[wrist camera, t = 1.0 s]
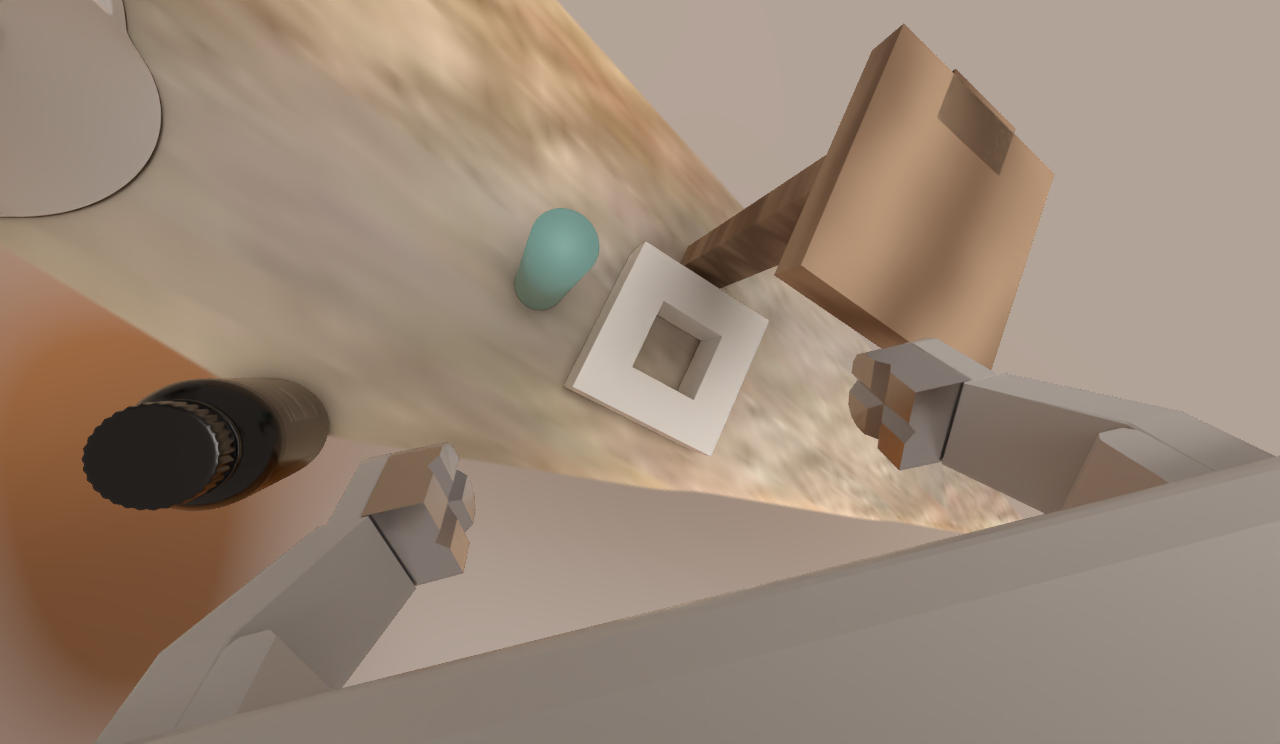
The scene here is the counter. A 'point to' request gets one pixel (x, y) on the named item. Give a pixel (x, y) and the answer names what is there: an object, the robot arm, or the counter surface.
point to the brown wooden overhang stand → (900, 212)
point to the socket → (713, 371)
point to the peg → (555, 257)
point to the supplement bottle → (205, 443)
